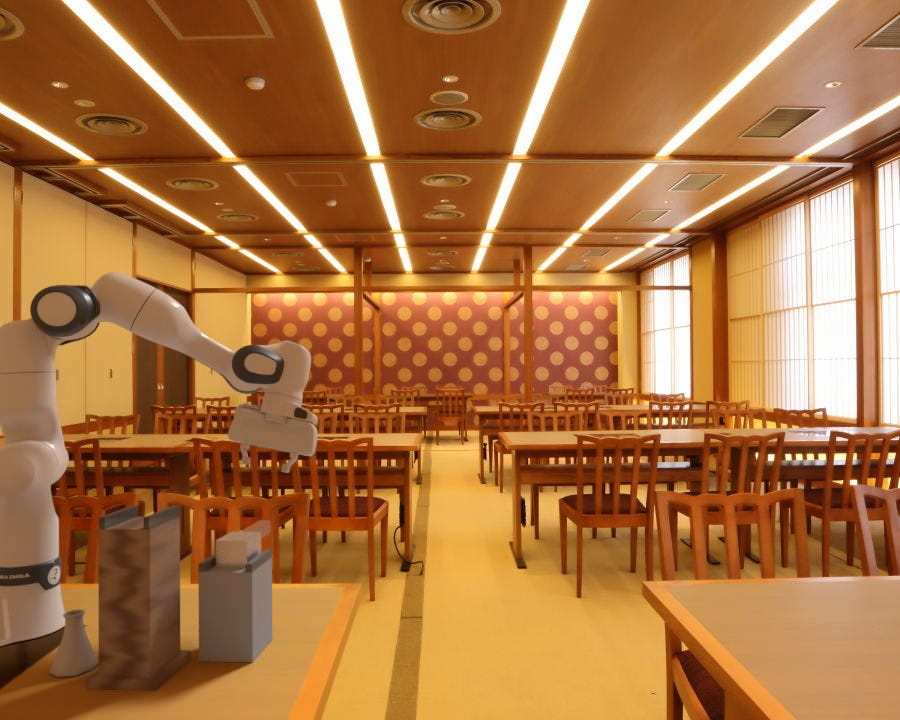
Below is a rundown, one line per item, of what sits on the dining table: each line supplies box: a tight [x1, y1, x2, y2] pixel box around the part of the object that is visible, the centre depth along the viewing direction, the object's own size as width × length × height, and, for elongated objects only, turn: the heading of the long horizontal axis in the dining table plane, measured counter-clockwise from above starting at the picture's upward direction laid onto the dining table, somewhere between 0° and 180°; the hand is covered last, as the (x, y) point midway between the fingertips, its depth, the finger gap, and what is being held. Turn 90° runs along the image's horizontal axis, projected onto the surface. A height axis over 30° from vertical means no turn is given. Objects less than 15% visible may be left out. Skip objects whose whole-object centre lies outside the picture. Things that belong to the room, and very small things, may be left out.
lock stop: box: [215, 519, 272, 568], centre depth 128 cm, size 6×17×5 cm, turn 175°
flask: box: [48, 608, 99, 678], centre depth 115 cm, size 7×7×10 cm
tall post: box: [85, 505, 192, 691], centre depth 113 cm, size 12×12×28 cm
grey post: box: [198, 548, 274, 663], centre depth 122 cm, size 10×10×18 cm
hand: (264, 468), depth 148 cm, fingers open, 8 cm apart
